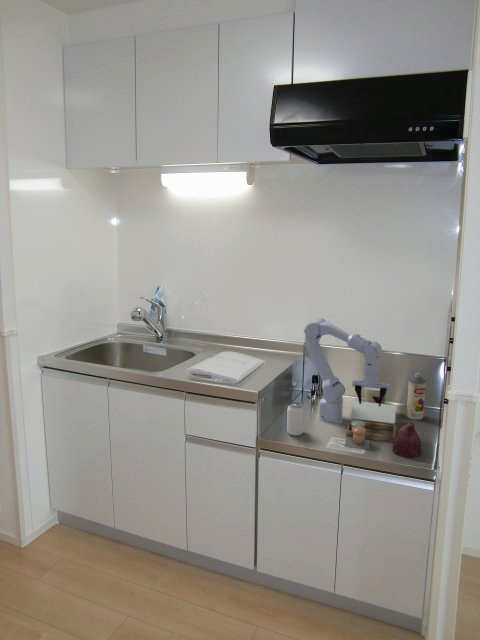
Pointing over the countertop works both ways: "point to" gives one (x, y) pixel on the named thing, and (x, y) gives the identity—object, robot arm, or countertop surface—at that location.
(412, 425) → the vegetable
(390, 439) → the brown rectangular frame
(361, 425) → the glazed pot
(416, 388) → the aerosol can
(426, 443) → the countertop surface
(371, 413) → the lid
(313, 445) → the countertop surface
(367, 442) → the slate mat
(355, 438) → the pot
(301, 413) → the can
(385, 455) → the countertop surface
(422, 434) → the countertop surface
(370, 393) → the coffee cup
